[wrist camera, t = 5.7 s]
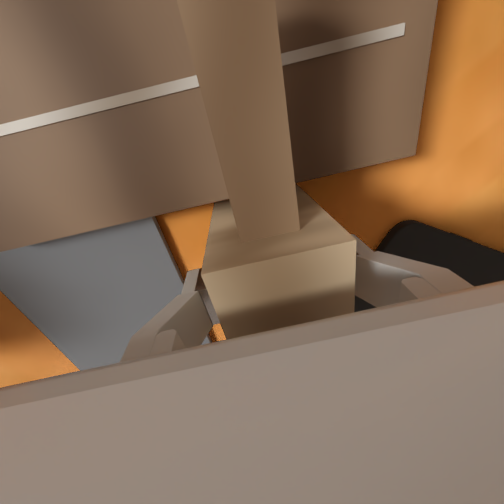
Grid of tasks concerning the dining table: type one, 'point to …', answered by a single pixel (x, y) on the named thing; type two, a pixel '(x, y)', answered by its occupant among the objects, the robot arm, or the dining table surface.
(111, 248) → the slate pad
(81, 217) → the walnut board
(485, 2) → the dining table surface
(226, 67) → the marking gauge
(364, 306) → the phone
